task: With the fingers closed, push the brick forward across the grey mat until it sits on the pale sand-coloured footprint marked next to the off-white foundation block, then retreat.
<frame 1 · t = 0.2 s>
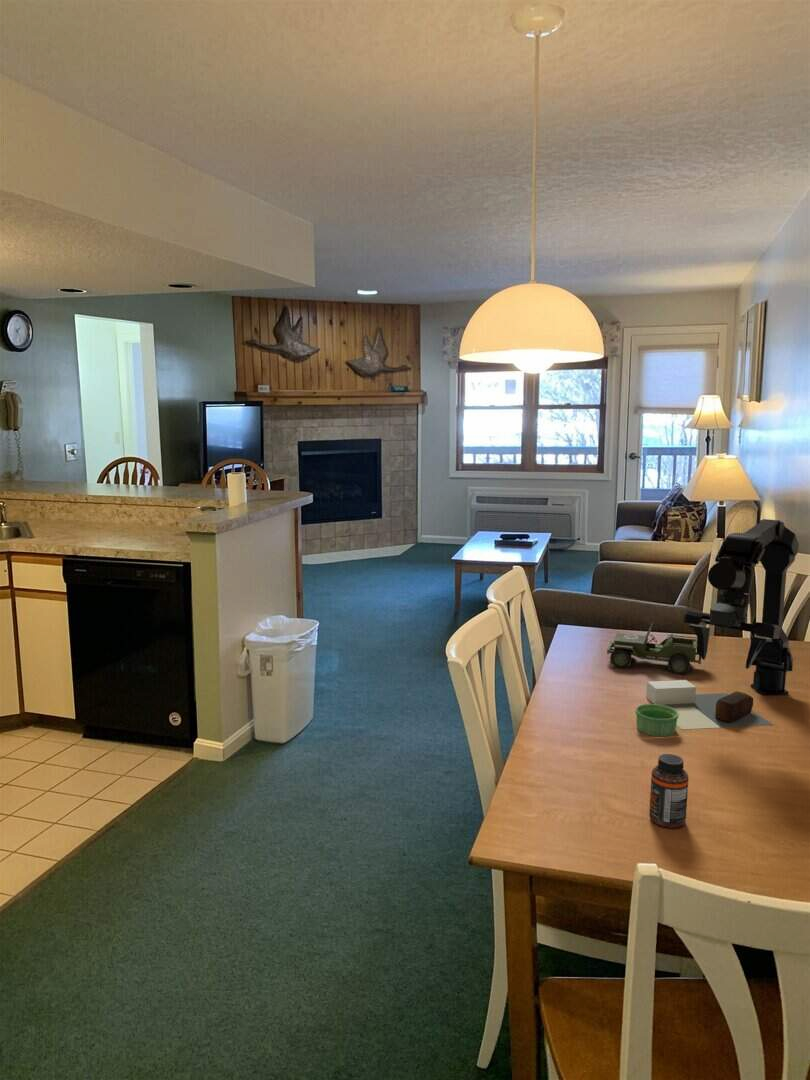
hand: (724, 663, 168), 15 cm above the table, tool pointing down, fingers open, 9 cm apart
brick: (733, 717, 179), resting on grey mat
foundation block: (670, 700, 188), resting on grey mat
supplement bottle: (667, 821, 133), on the table
grey mat: (706, 710, 182), on the table
ramekin: (655, 731, 171), on the table
toy jeep: (654, 667, 215), on the table
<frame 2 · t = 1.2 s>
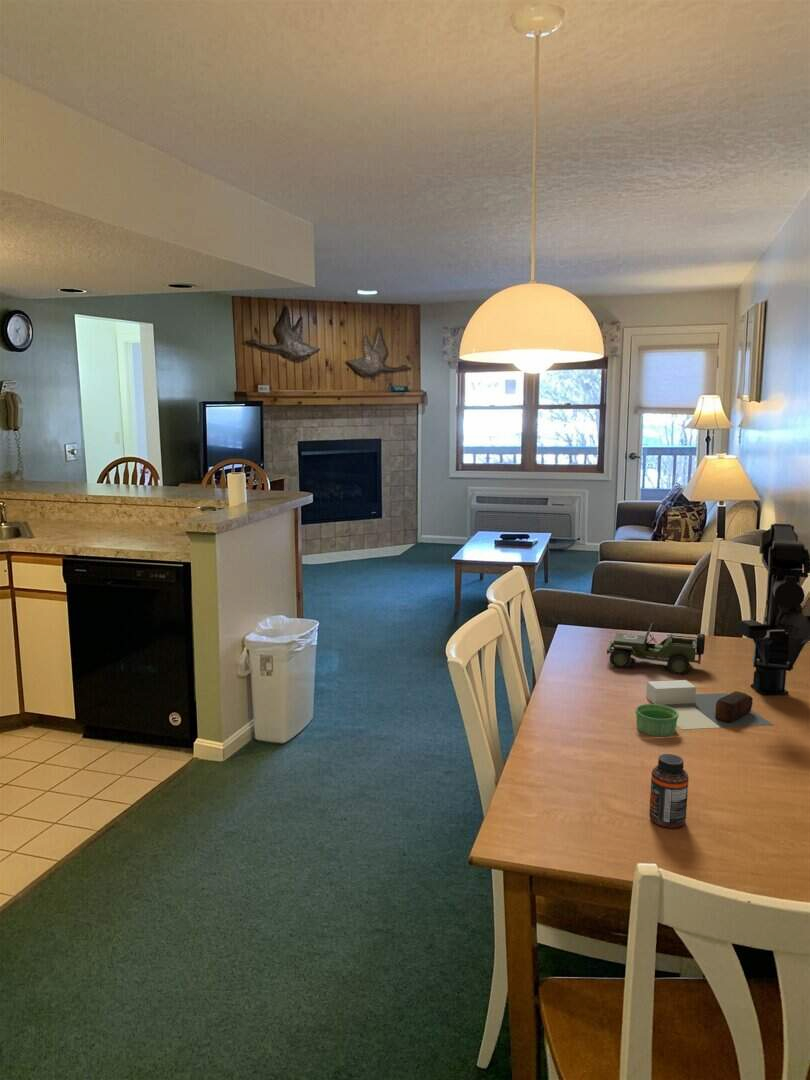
hand: (778, 664, 178), 12 cm above the table, tool pointing down, fingers open, 6 cm apart
nothing on the table moved.
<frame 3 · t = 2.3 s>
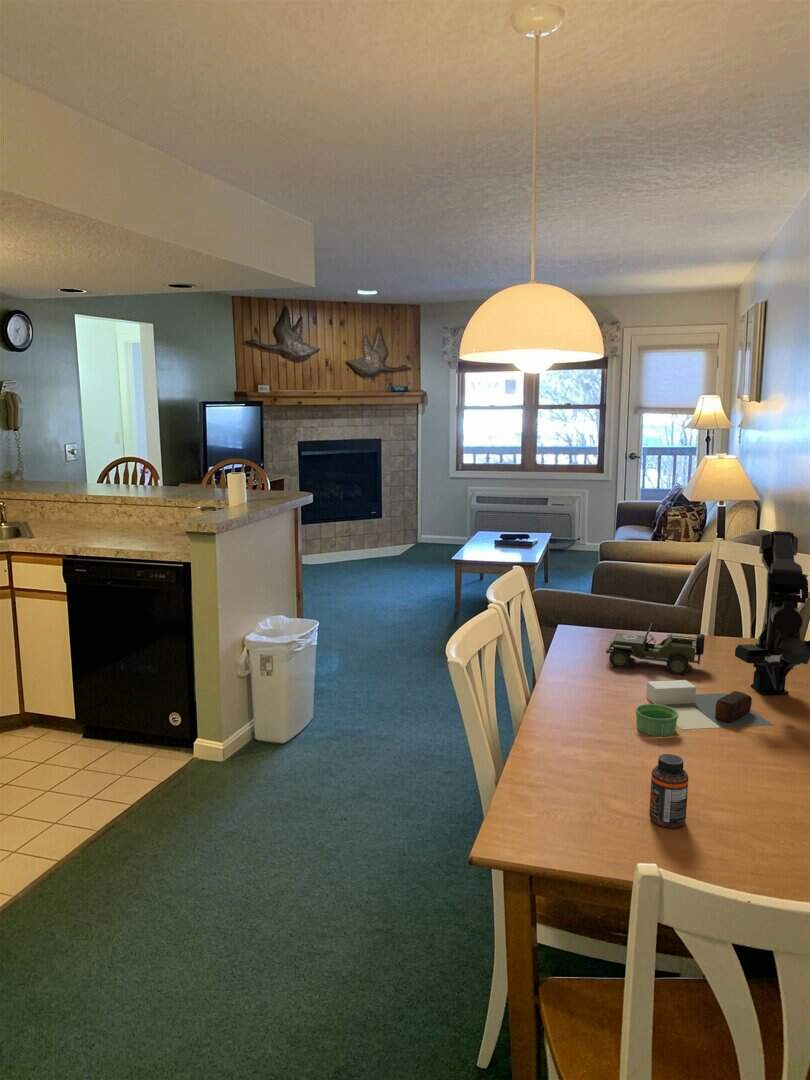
hand: (776, 688, 179), 6 cm above the table, tool pointing down, fingers closed
nothing on the table moved.
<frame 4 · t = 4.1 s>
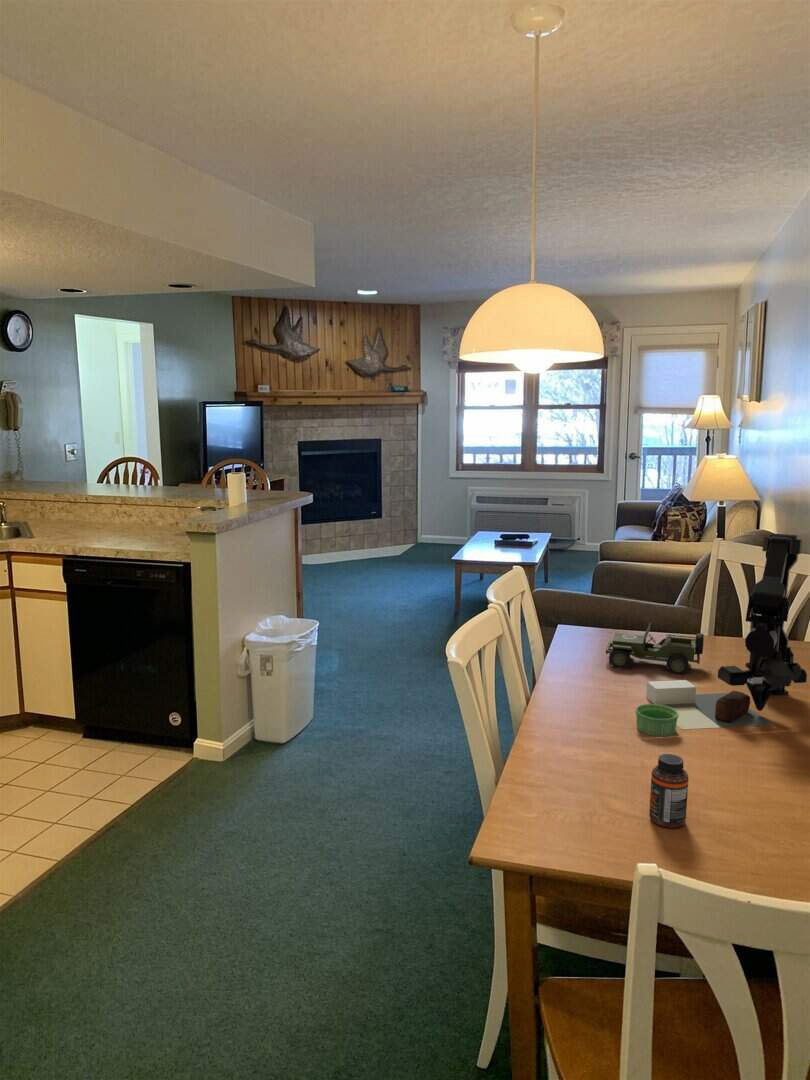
hand: (759, 710, 179), 1 cm above the table, tool pointing down, fingers closed
brick: (732, 716, 179), resting on grey mat, touching gripper
everything else where it was.
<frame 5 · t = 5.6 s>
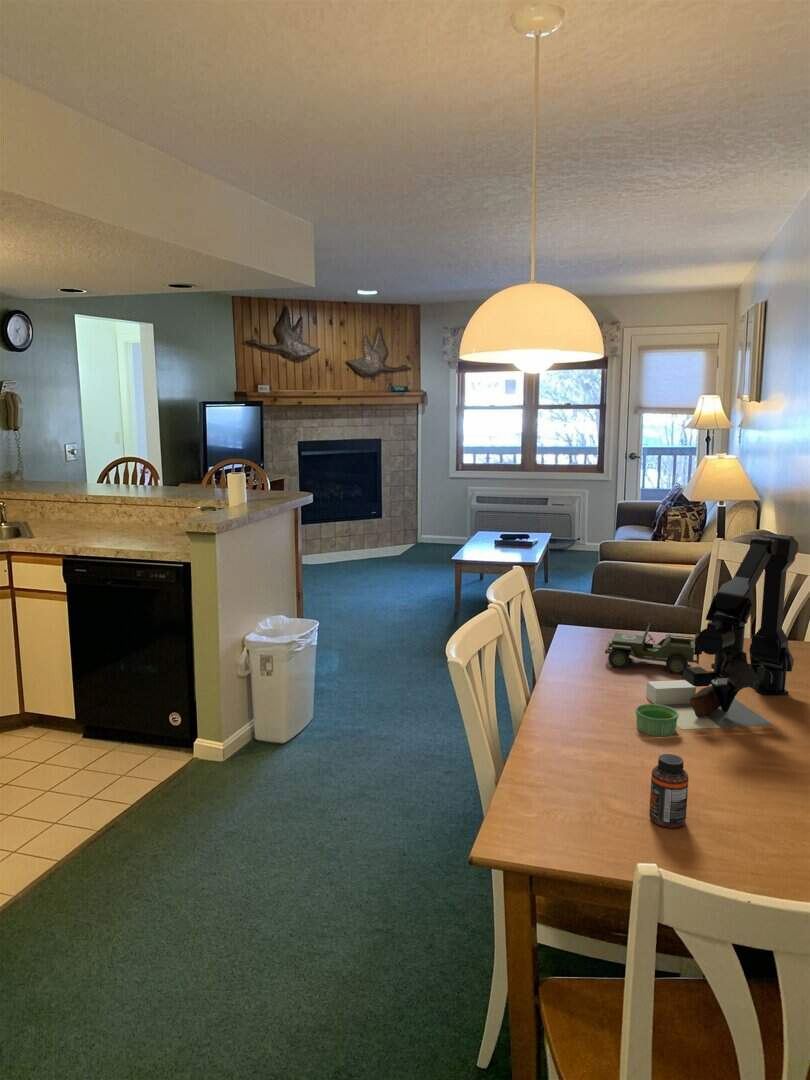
hand: (724, 711, 178), 1 cm above the table, tool pointing down, fingers closed
brick: (712, 710, 180), point 1 cm above the table, touching grey mat, gripper
everything else where it was.
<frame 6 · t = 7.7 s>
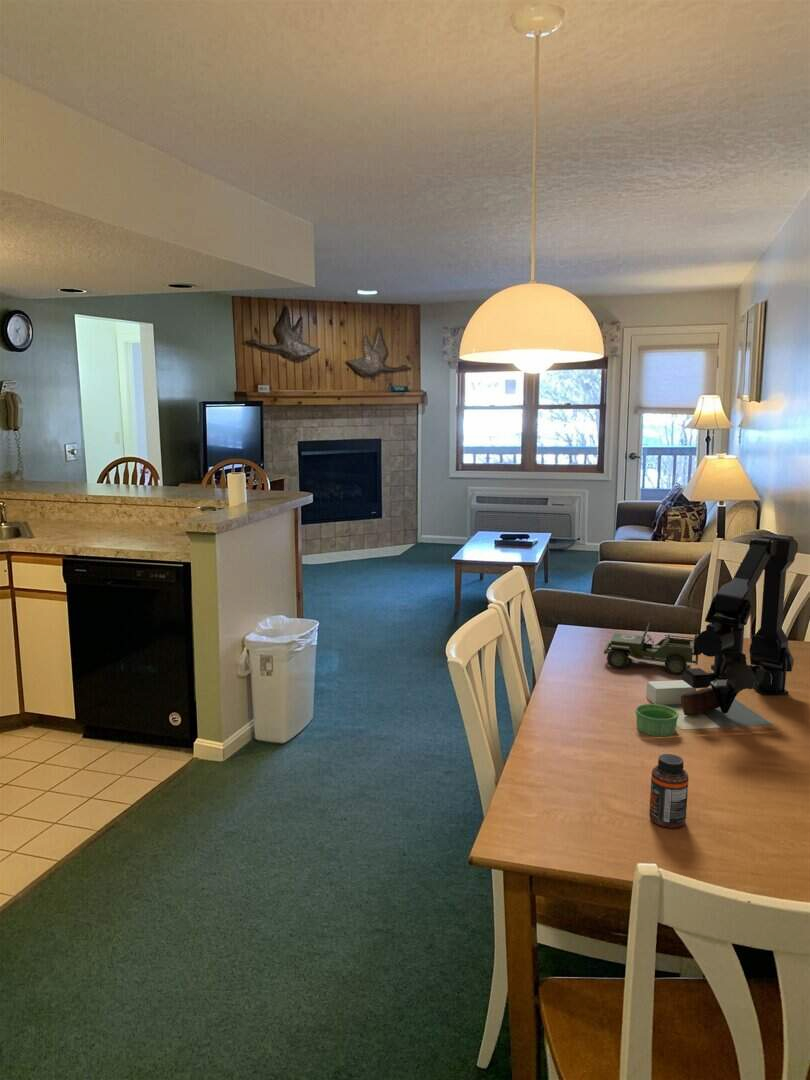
hand: (724, 712, 178), 1 cm above the table, tool pointing down, fingers closed
brick: (705, 711, 180), point 1 cm above the table, touching grey mat, gripper
everything else where it was.
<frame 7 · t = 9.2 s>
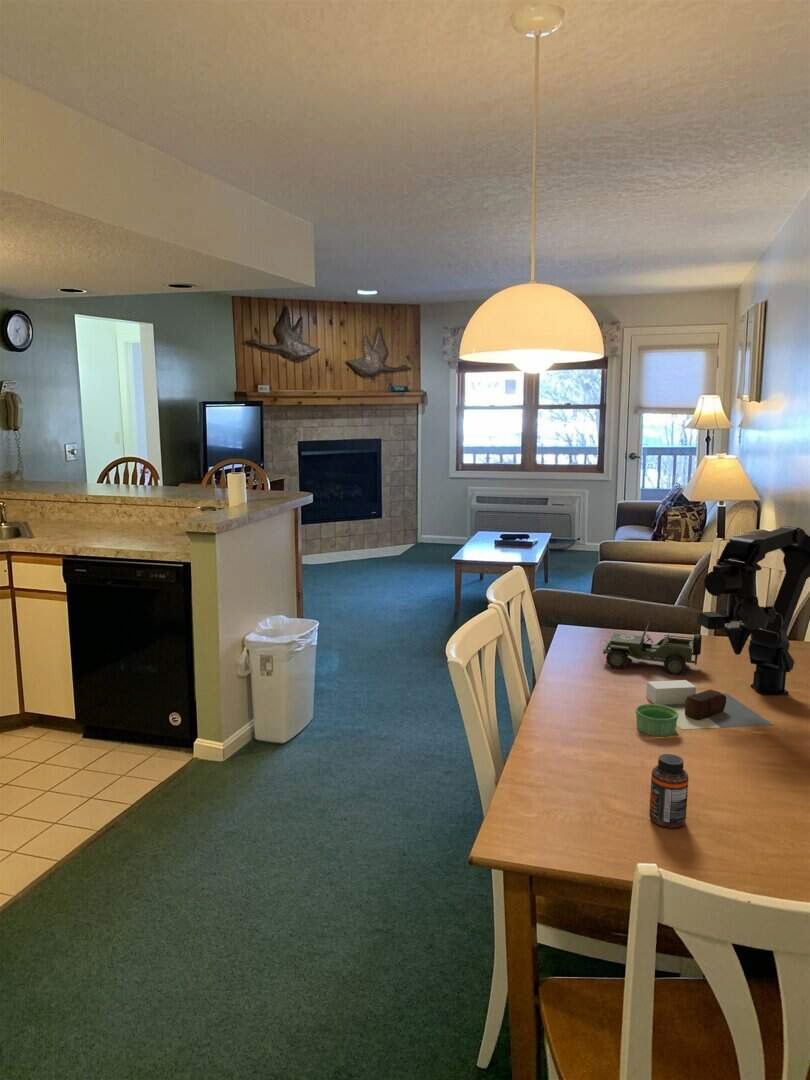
hand: (737, 654, 186), 12 cm above the table, tool pointing down, fingers closed
brick: (705, 714, 180), resting on grey mat
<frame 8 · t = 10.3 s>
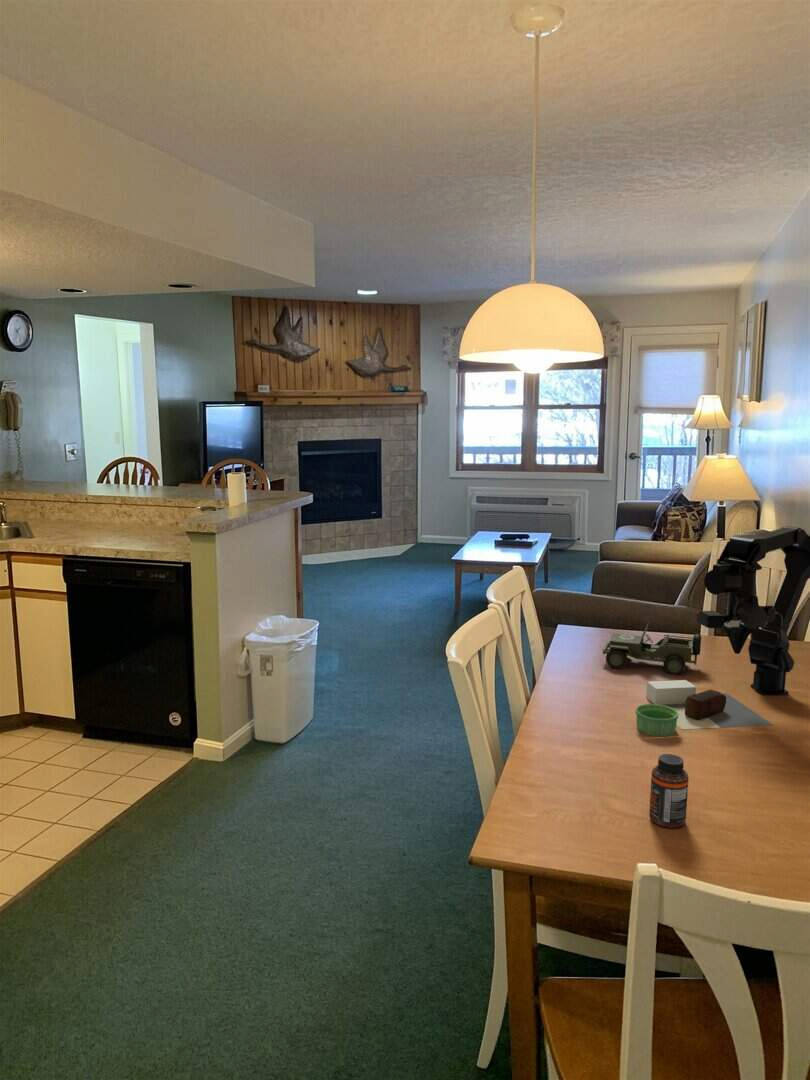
hand: (736, 653, 186), 12 cm above the table, tool pointing down, fingers closed
at the end: brick inside the target area (5.3 cm from its centre), resting on grey mat; brick tilted 0°; brick moved 6.3 cm from its start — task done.
